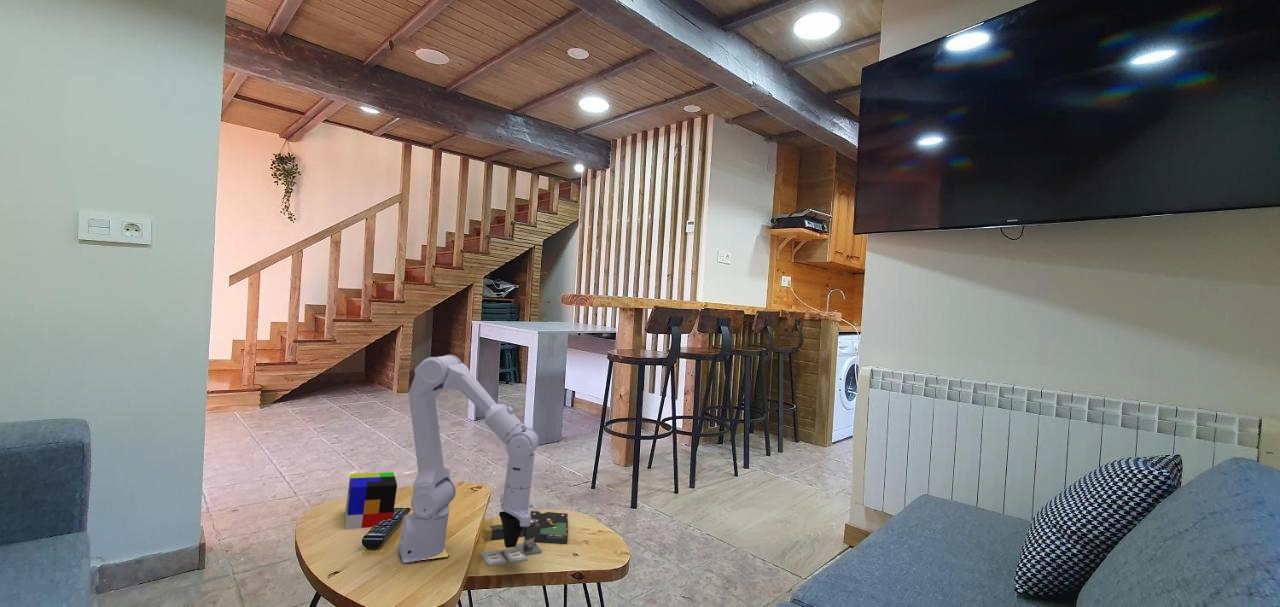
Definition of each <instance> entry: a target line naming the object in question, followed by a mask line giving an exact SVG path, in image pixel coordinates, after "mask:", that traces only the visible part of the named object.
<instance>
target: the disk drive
mask: <svg viewBox="0 0 1280 607" xmlns="http://www.w3.org/2000/svg"><path fill="white" fill-rule="evenodd" d="M529 514H530V516H531V519H535V520H536V521H537V522H538V523H539V524H540V525H541V531H540V536H536V537H535V538H534V542H535V543H536V544H537V543H538V544H550V545H551V544H554V545H567V543H568V536H569V530H568V529H569V523H568V521H569V519H568V518H569V515H568V513H566V512H553V511H546V512H544V513H541V512H540V511H538V510H531V511H530V512H529Z"/></svg>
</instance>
